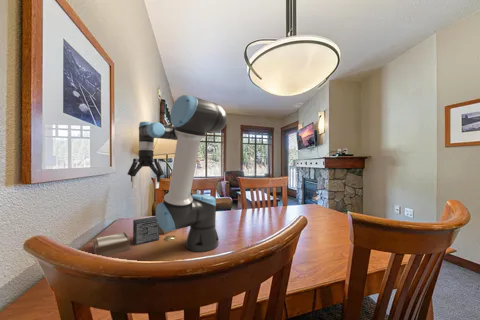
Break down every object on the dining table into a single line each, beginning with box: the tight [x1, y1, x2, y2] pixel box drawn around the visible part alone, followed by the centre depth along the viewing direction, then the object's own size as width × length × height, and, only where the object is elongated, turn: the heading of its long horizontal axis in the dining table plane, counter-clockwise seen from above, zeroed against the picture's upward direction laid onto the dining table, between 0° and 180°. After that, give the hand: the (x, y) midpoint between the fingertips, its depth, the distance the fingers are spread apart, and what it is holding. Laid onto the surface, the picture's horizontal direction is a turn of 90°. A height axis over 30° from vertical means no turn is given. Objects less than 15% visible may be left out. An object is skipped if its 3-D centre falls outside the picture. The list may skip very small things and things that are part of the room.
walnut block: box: [159, 226, 173, 235], centre depth 103 cm, size 5×5×4 cm
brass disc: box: [164, 234, 177, 242], centre depth 95 cm, size 5×5×1 cm
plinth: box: [92, 232, 132, 257], centre depth 83 cm, size 12×12×4 cm
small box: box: [132, 215, 160, 246], centre depth 92 cm, size 11×6×10 cm, turn 130°
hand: (145, 188), depth 106 cm, fingers open, 13 cm apart
